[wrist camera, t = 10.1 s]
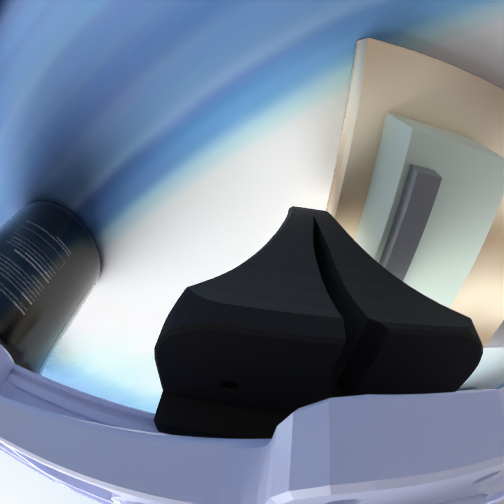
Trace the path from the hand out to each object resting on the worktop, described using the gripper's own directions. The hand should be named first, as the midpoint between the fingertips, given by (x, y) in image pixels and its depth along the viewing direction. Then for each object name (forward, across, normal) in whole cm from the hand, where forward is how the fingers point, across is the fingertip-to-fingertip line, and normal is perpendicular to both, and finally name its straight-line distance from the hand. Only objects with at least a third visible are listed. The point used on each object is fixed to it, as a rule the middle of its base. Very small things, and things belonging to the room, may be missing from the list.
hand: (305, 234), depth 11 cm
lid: (+1, -4, 0) cm, 4 cm away
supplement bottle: (+4, +14, +5) cm, 15 cm away
